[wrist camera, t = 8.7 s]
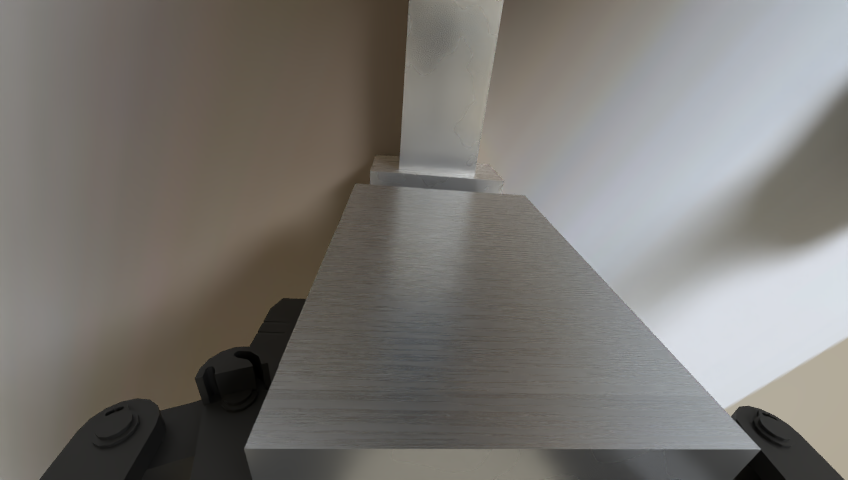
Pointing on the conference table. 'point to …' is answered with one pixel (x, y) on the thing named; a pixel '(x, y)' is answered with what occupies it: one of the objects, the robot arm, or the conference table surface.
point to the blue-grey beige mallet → (445, 98)
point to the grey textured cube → (478, 359)
